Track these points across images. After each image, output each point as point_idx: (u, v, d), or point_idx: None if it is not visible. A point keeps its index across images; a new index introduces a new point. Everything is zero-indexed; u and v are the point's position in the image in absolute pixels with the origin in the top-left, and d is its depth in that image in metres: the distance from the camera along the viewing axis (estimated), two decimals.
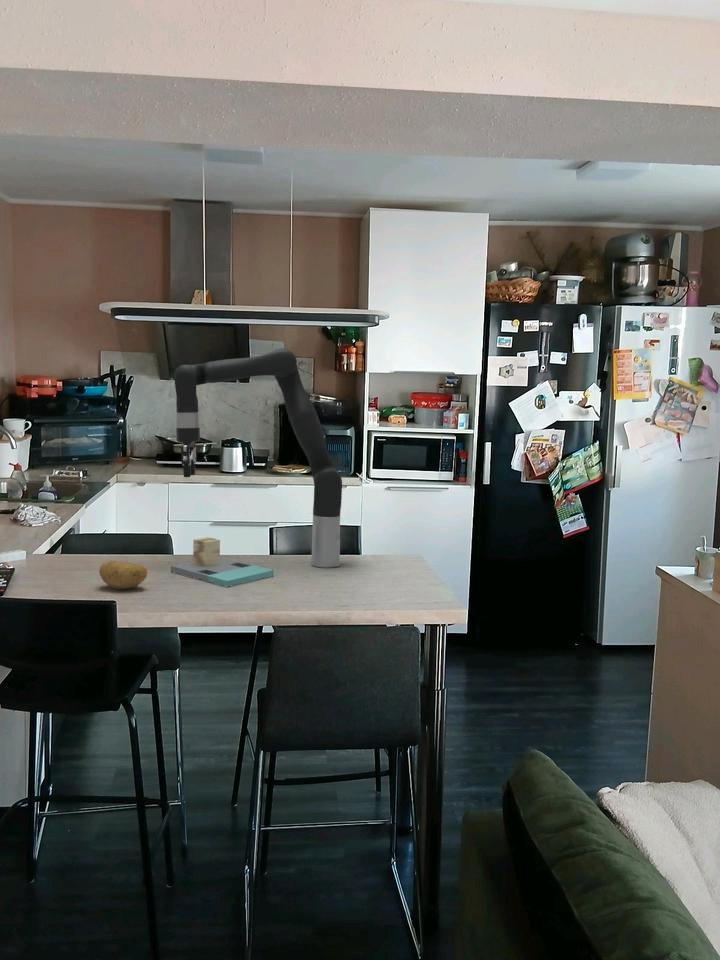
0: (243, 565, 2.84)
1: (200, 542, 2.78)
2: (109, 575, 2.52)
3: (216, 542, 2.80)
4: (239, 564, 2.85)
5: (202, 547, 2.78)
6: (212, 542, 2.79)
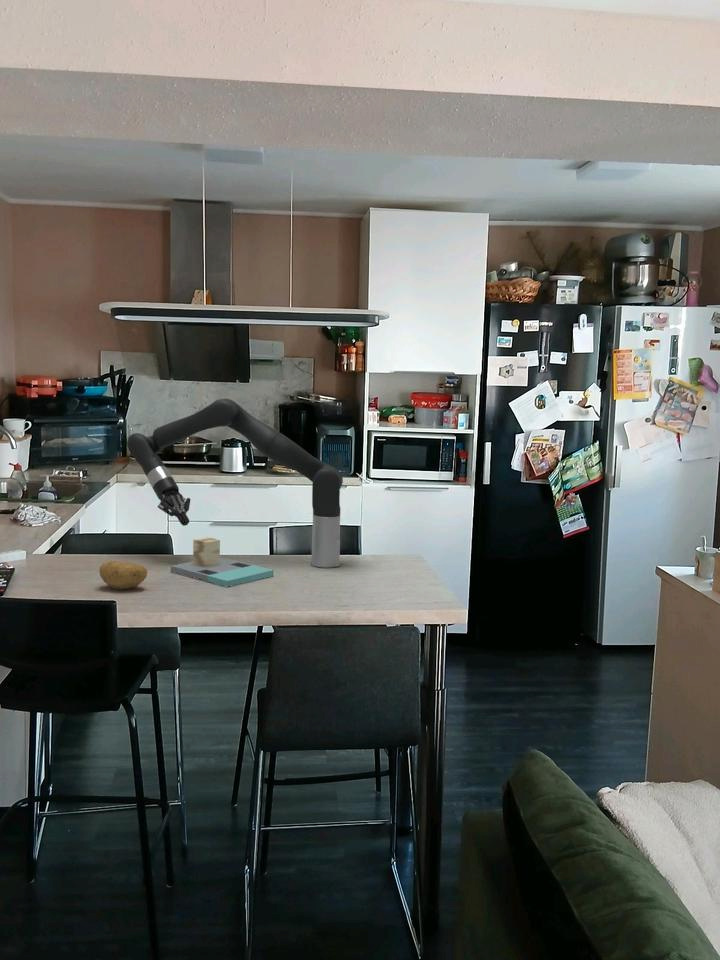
0: (243, 565, 2.84)
1: (200, 542, 2.78)
2: (109, 575, 2.52)
3: (216, 542, 2.80)
4: (239, 564, 2.85)
5: (202, 547, 2.78)
6: (212, 542, 2.79)
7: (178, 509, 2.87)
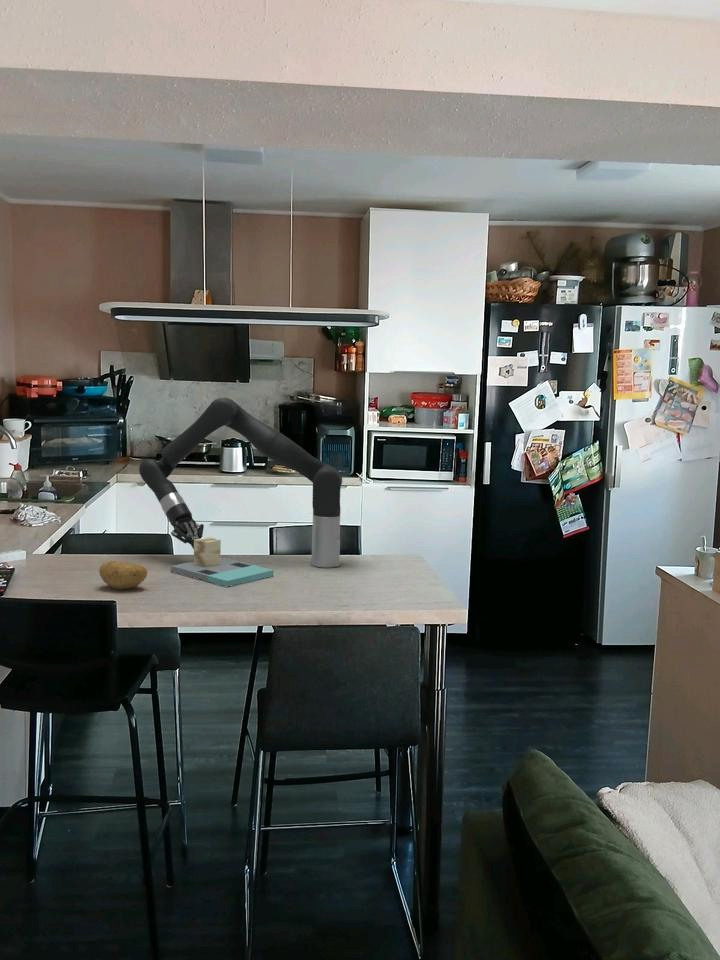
0: (243, 565, 2.84)
1: (201, 542, 2.78)
2: (109, 575, 2.52)
3: (217, 542, 2.80)
4: (239, 564, 2.85)
5: (202, 547, 2.77)
6: (213, 542, 2.78)
7: (191, 536, 2.84)
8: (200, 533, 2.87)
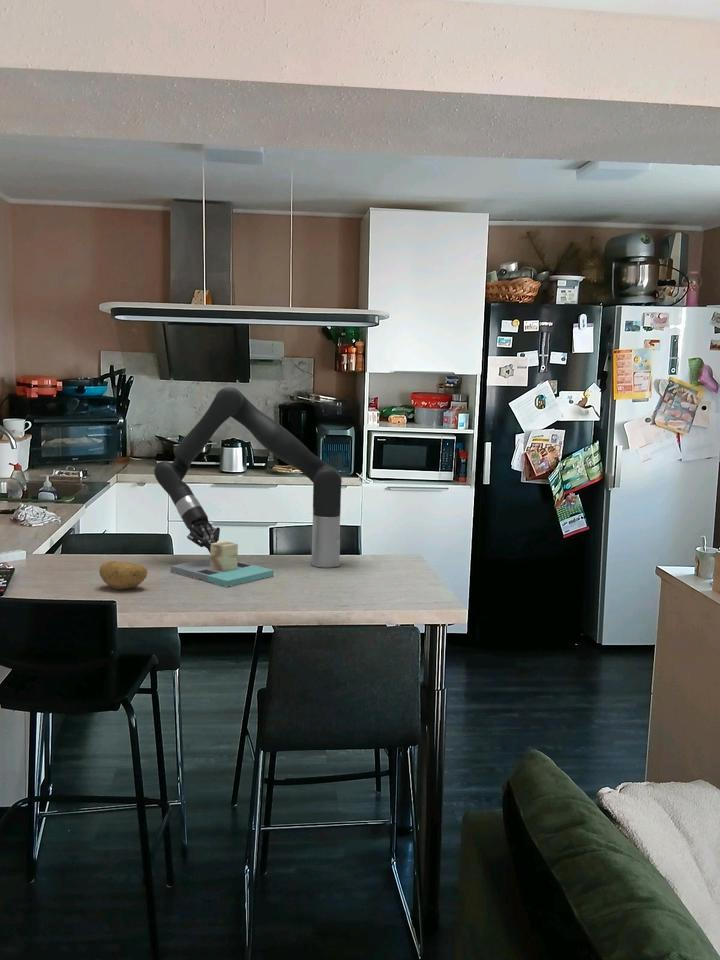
0: (243, 565, 2.84)
1: (218, 546, 2.73)
2: (109, 575, 2.52)
3: (234, 546, 2.75)
4: (239, 564, 2.85)
5: (219, 551, 2.73)
6: (230, 546, 2.73)
7: (208, 539, 2.79)
8: (216, 537, 2.82)
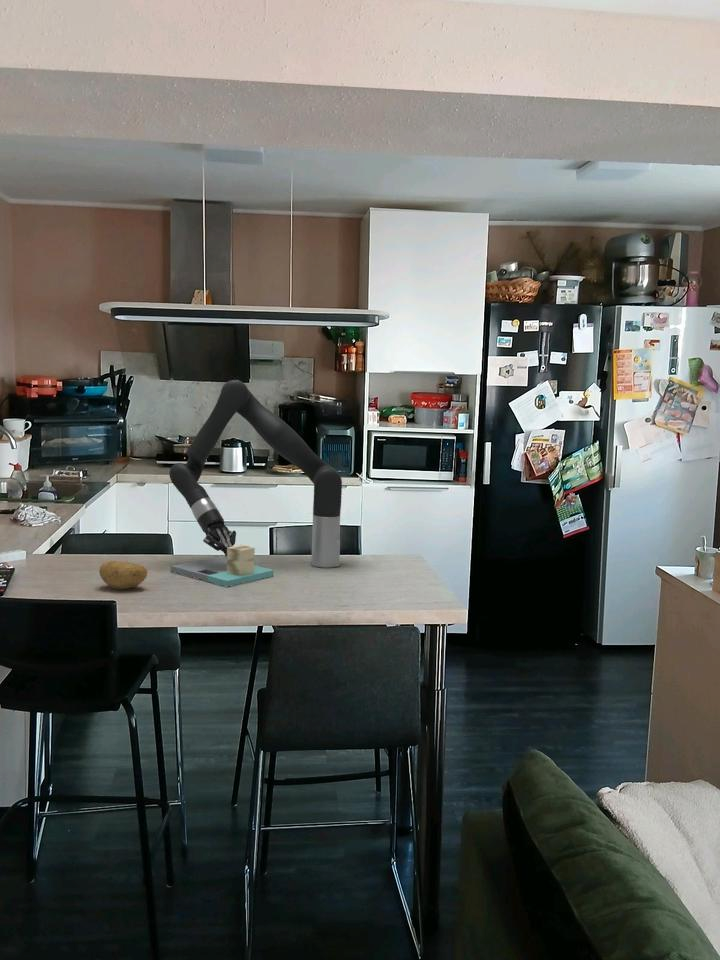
0: None
1: (234, 550, 2.68)
2: (109, 575, 2.52)
3: (251, 550, 2.70)
4: None
5: (236, 555, 2.68)
6: (247, 550, 2.69)
7: (224, 543, 2.74)
8: (233, 540, 2.77)
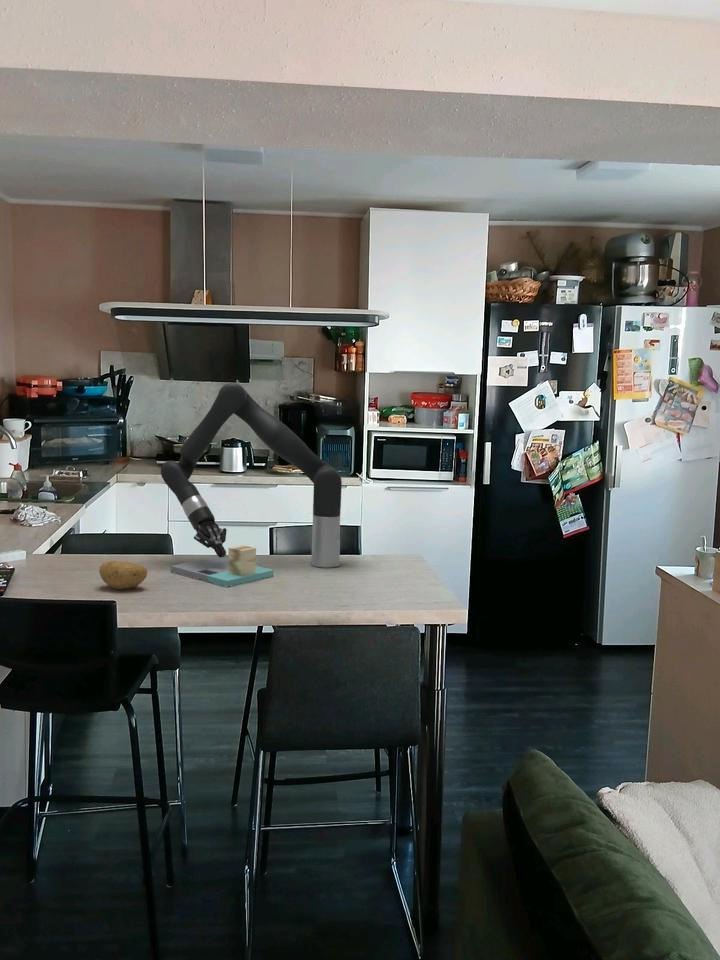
0: None
1: (236, 550, 2.68)
2: (109, 575, 2.52)
3: (252, 550, 2.70)
4: None
5: (237, 556, 2.67)
6: (248, 550, 2.68)
7: (215, 540, 2.76)
8: (223, 537, 2.79)
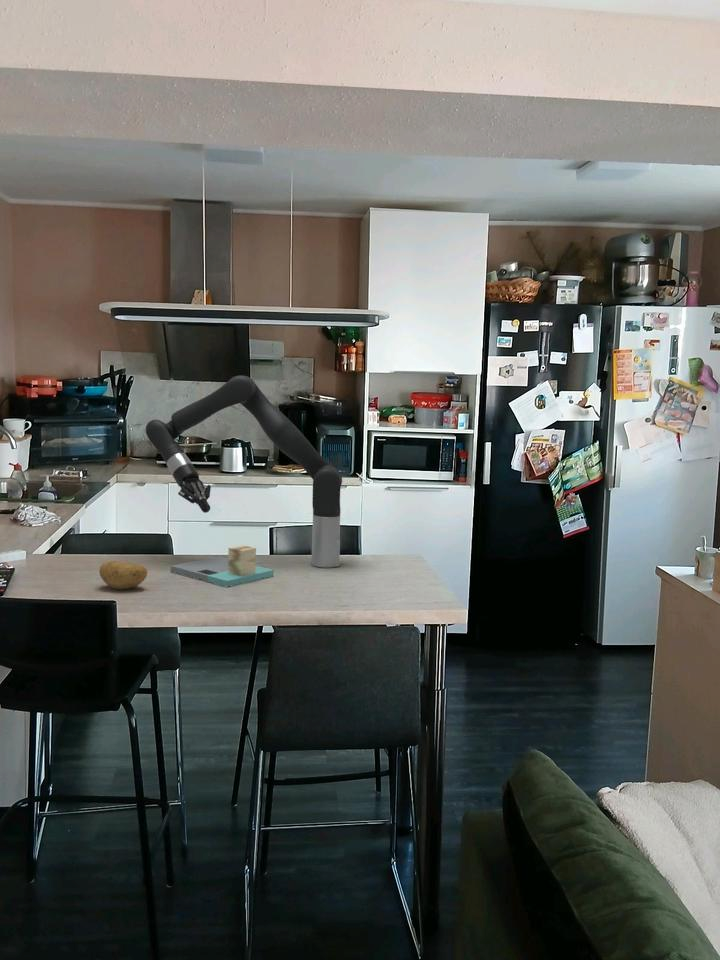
0: None
1: (236, 550, 2.68)
2: (109, 575, 2.52)
3: (252, 550, 2.70)
4: None
5: (237, 556, 2.67)
6: (248, 550, 2.68)
7: (199, 496, 2.82)
8: (207, 493, 2.85)
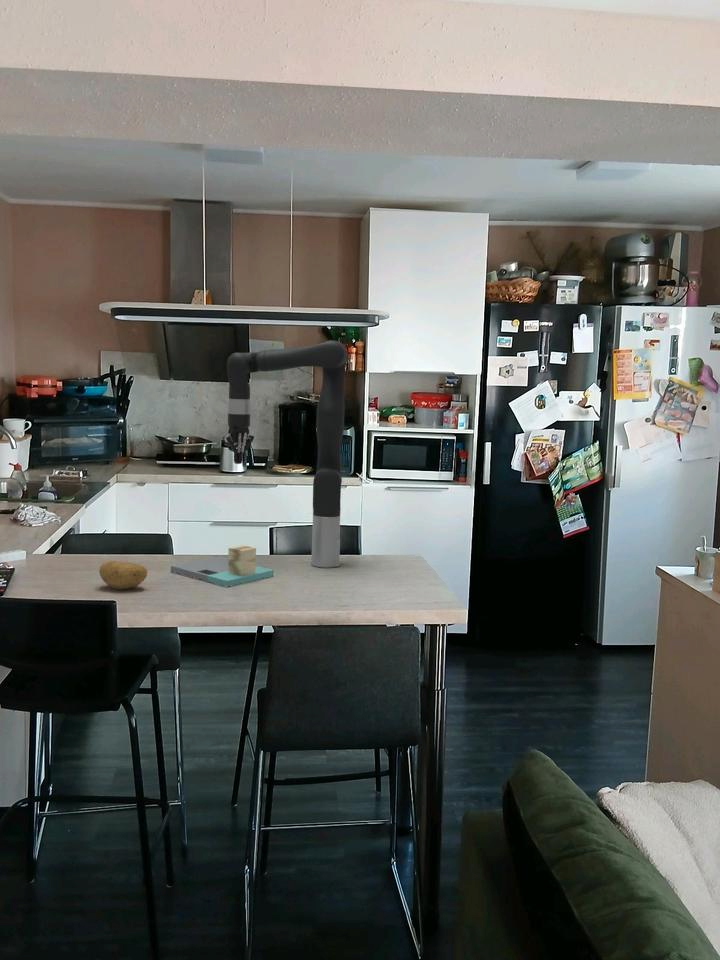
0: None
1: (236, 550, 2.68)
2: (109, 575, 2.52)
3: (252, 550, 2.70)
4: None
5: (237, 556, 2.67)
6: (248, 550, 2.68)
7: (238, 448, 2.93)
8: (247, 446, 2.96)
